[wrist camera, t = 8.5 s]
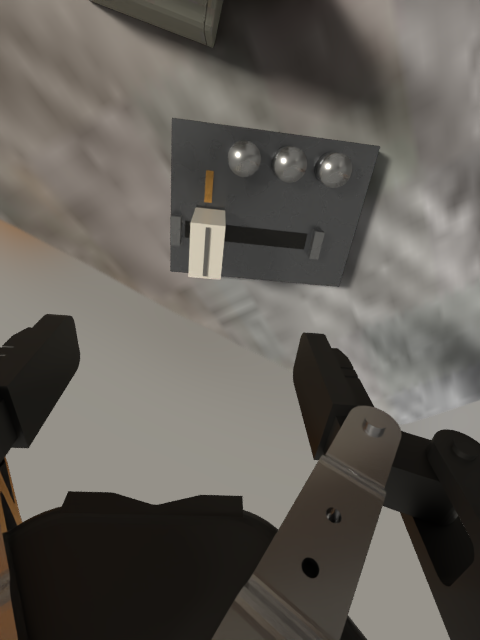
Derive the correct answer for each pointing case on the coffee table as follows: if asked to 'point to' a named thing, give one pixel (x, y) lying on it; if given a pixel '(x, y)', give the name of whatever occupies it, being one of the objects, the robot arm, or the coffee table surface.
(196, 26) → the digital clock
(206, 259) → the fader tab
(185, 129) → the console
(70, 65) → the coffee table surface
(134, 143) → the coffee table surface
